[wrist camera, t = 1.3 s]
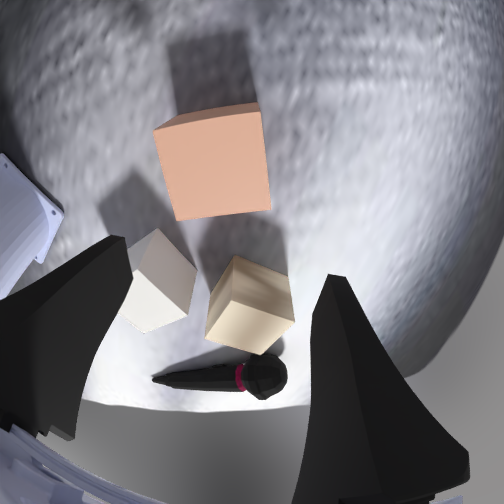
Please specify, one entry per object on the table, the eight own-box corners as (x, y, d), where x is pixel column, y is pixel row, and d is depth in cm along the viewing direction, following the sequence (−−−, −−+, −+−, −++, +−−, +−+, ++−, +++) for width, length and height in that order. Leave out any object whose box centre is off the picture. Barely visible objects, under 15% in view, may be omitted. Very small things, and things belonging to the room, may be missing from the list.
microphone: (166, 365, 39) (291, 352, 32) (165, 400, 35) (295, 398, 28) (141, 357, 34) (275, 343, 27) (138, 396, 31) (278, 397, 24)
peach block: (193, 184, 18) (176, 221, 14) (178, 115, 15) (152, 130, 11) (266, 175, 18) (271, 209, 14) (257, 102, 15) (260, 111, 11)
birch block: (210, 293, 24) (204, 338, 20) (234, 254, 22) (231, 300, 18) (259, 310, 26) (260, 355, 22) (288, 275, 23) (295, 322, 19)
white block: (119, 254, 22) (97, 295, 18) (157, 227, 20) (137, 269, 16) (157, 291, 24) (143, 334, 20) (197, 269, 23) (187, 315, 19)
